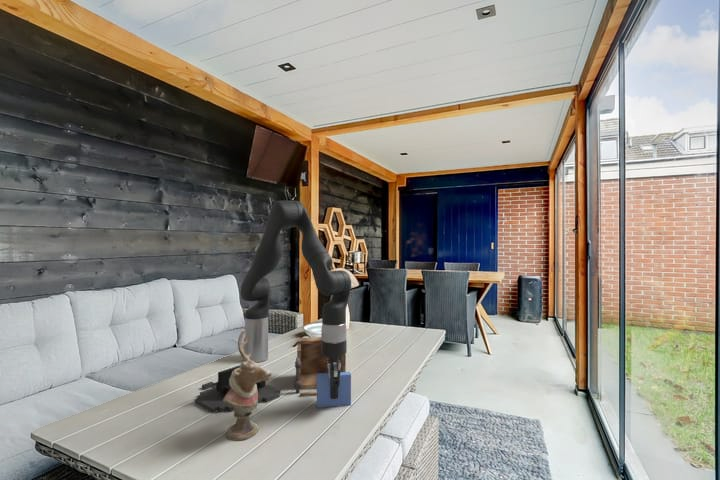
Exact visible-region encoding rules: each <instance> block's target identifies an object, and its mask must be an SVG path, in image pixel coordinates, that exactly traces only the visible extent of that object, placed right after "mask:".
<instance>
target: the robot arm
mask: <svg viewBox="0 0 720 480" xmlns="http://www.w3.org/2000/svg"><path fill="white" fill-rule="evenodd" d="M313 224H314V223H313V222H312V220H311V218H310V216H309V213H308V211H307V209H306V208H305V205H304V204H303V203H302V202H301V201H299V200H276V201H275V202H274V203H273V204H272V205H271V207H270V210H269V214H268V217H267V221H266V226H265V229H264V232H263V235H262V236H261V239H260V243H259V244H258V247H257V250H256V252H255V254H254V257H253V261H252V262H251V265H250V267H249V269H248V270H247V273H246V274H245V277H244V278H243V280H242V283H241V286H240V290H239V291H240V293H239V294H240V298H241V299H242V300H243V301H245V302H256V304H254V306H252V307H250V308H248V309H247V310H245V311H244V331H245V332H244V336H243V343H244V342H245V340H246V339H247V338H249V337H250V336H252V338H251V339H250V341H249V342H248V343H247V344H246V345H245V347H244V349H243V351H244V353H245V354H246V355H248V354H249V353H250V352H253V353H252V354H251V356H252V358H250V360H253V361H254V362H255V363H260V362H265V361H266V360H268V358H269V310H270V295H271V294H270V293H271V285H270V284H271V283H270V281H269V279H268V278H266V276H267V275H269V274H271V273H272V272H273V271H274V270H275V269H276V268H277V267H278V265H279V263H280V261H281V260H282V257H283V254H284V249H283V248H284V247H283V245H282V242H281V240H280V238H279V236H280V234H281V231H282V230H283V229H287V228H289V229H290V228H297V229H298V230H299V231H300V232H301V235H302V237H301V238H302V239H301V252H302V255H303V257H304V259H305V261H306V263H307V264H308V266H309V267H310V269H311V271H312V275H313V280H314V283H315V287H316V289H317V291H318V292H319V293H320V294H322V295H324V296H331V299H330V300H329V301H328V302H326V303H324V304H323V306H322V309H321V310H322V313H321V318H322V319H321V320H322V322H321V334H320V335H321V336H320V337H321V353H322V355H323V356H326V357H328V359H327V367H328V377H329V379H330V398H331V399H337V398H338V386H339V385H340V383H339V382H340V373H341V372H340V368H341V361H340V359H339V357H340V356H344V355H345V354H346V355H347V352H348V351H347V346H348V345H347V342H348V341H347V335H348V333H347V330H348V329H347V324H346V322H347V321H346V320H347V317H346V316H347V313H346V312H347V310H346V309H347V306H348V303H349V300H350V299H349V298H350V294H351V290H352V279H351V276H350V274H349V273H348V272H347V271H345V270H342V269H340V270H330V269H331V268H332V266H333V259H332V258H333V257H331V255H330V253H329V251H328V250H327V249H326V248H325V246H324V244H323V243H322V241H321V240H320V238H319V235H318V234H317V232H316V229H315V227H314V225H313ZM243 362H245V360H244V359H243ZM330 373H331V374H330ZM334 381H337V382H334Z"/></svg>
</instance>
